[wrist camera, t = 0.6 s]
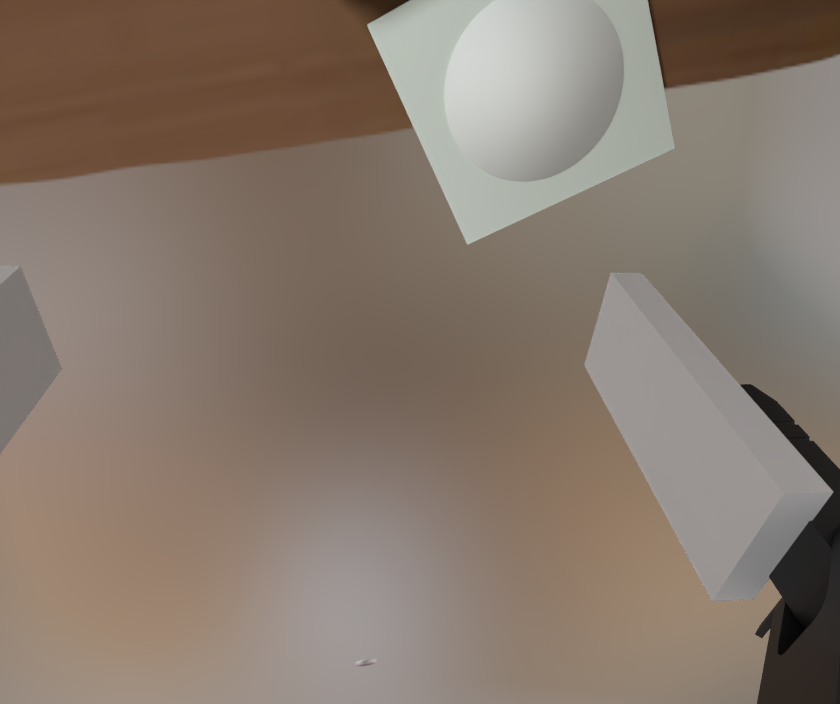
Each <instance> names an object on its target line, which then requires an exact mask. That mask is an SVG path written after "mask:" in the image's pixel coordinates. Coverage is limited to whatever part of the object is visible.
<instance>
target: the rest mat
mask: <svg viewBox="0 0 840 704" xmlns="http://www.w3.org/2000/svg"><path fill="white" fill-rule="evenodd" d="M367 26H368V29H369V31H370V33H371V35H372V37H373V40H374V42H375V44H376V46H377V48H378V50H379V53H380V55H381V57H382V59H383V61H384V64H385V66H386V68H387V70H388V72H389V75H390V77H391V79H392V81H393V83H394V85H395V88H396V90H397V92H398V94H399V96H400V99H401V101H402V103H403V105H404V107H405V110H406V112H407V114H408V116H409V118H410V120H411V123H412V125H413V127H414V129H415V131H416V134H417V136H418V138H419V140H420V142H421V144H422V147H423V149H424V151H425V153H426V155H427V158H428V160H429V162H430V164H431V166H432V168H433V171H434V173H435V175H436V177H437V180H438V182H439V184H440V186H441V188H442V190H443V193H444V194H445V197H446V199H447V201H448V203H449V206H450V208H451V210H452V212H453V215H454V217H455V219H456V221H457V223H458V225H459V228H460V230H461V232H462V234H463V236H464V239H465V241H466V243H467V244H470V243H472V242H475V241H477V240H479V239H481V238H483V237H485V236H487V235H490V234H492V233H494V232H496V231H498V230H500V229H503V228H505V227H507V226H509V225H511V224H513V223H516V222H517V221H520V220H522V219H524V218H526V217H528V216H531V215H533V214H535V213H537V212H539V211H541V210H544V209H546V208H548V207H550V206H552V205H554V204H557V203H559V202H561V201H563V200H565V199H567V198H569V197H572V196H574V195H576V194H578V193H580V192H582V191H584V190H587V189H589V188H591V187H593V186H595V185H597V184H600V183H602V182H604V181H606V180H608V179H610V178H613V177H615V176H617V175H619V174H621V173H623V172H625V171H628V170H630V169H632V168H634V167H636V166H638V165H641V164H642V163H645V162H647V161H649V160H651V159H653V158H656V157H658V156H660V155H662V154H664V153H666V152H668V151H671V150H673V149H675V145H674V139H673V134H672V129H671V123H670V118H669V112H668V107H667V102H666V97H665V91H664V85H663V80H662V75H661V69H660V64H659V58H658V53H657V48H656V42H655V37H654V31H653V26H652V21H651V15H650V10H649V5H648V0H409V1H408V2H406V3H404V4H402V5H400V6H399V7H397V8H395V9H393V10H392V11H390V12H388V13H386V14H385V15H383V16H381V17H379V18H378V19H376V20H374V21H372V22H370V23H369V24H367Z"/></svg>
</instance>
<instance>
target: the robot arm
mask: <svg viewBox="0 0 840 704" xmlns="http://www.w3.org/2000/svg"><path fill="white" fill-rule="evenodd" d="M584 366H585V367H586V369H587V371H588V373H589V375H590V376H591V378H592V380H593V382H594V384H595V386H596V387H597V390H598V391H599V393H600V395H601V397H602V399H603V401H604V403H605V404H606V406H607V408H608V410H609V412H610V414H611V416H612V417H613V419H614V421H615V423H616V425H617V427H618V428H619V430H620V432H621V434H622V436H623V438H624V440H625V441H626V443H627V445H628V447H629V449H630V451H631V453H632V454H633V456H634V458H635V460H636V461H637V464H638V465H639V467H640V469H641V471H642V473H643V475H644V477H645V478H646V480H647V482H648V484H649V486H650V488H651V489H652V491H653V493H654V495H655V497H656V499H657V501H658V502H659V504H660V506H661V508H662V510H663V512H664V514H665V515H666V517H667V519H668V521H669V523H670V525H671V526H672V528H673V530H674V532H675V534H676V536H677V537H678V539H679V541H680V543H681V545H682V547H683V549H684V551H685V552H686V554H687V556H688V558H689V560H690V562H691V564H692V565H693V567H694V569H695V571H696V573H697V575H698V576H699V578H700V580H701V582H702V584H703V586H704V587H705V589H706V591H707V593H708V595H709V597H710V599H711V601H730V600H748V599H755V597H756V596H757V595H758V593H759V592H760V591H761V589H762V588H763V587H764V585H765V584H766V582H767V581H768V580H769V578H770V579H771V580H772V582H773V583H774V585H775V587H776V588H777V590H778V591H779V593H780V594H781V596H782V598H781V599H780V601H779V602H778V603H777V604H776V606H775V607H774V608H773V610H772V611H771V612H770V613H769V615H768V616H767V617H766V618H765V620H764V621H763V622H762V623H761V625H760V626H759V628H758V630H757V632H756V633H755V634H756V635H757V636H759V637H761V638H763V636H764V635H765V634H766V632H767V631H768V630H769V629H771V630H770V635H769V641H768V646H767V652H766V657H765V662H764V668H763V673H762V679H761V685H760V691H759V695H758V701H757V704H840V469H839V468H838V467H837V466H836V465H835V464H834V463H833V462H832V461H831V460H830V459H829V458H828V457H827V455H826V454H825V453H824V452H823V451H822V450H821V449H820V448H819V447H818V446H817V444H815V442H814V441H810V440H809V436H808V435H807V434H806V433H805V432H804V431H803V429H802V428H801V427H800V426H799V425H795V424H794V420H793V419H792V418H791V416H790V415H789V414H788V413H787V412H786V411H785V410H784V409H783V408H782V407H781V406H780V405H779V404H778V402H777V401H775V400H774V399H772V398H771V397H769V396H768V395H766V394H765V393H763V392H762V391H760V390H759V389H757V388H756V387H754V386H753V385H751V384H748V385H747V384H745V385H739V383H738V382H737V381H736V380H735V379H734V378H733V377H732V375H731V374H730V373H729V372H728V371H727V370H726V369H725V367H724V366H723V365H722V364H721V363H720V362H719V361H718V360H717V358H716V357H715V356H714V355H713V354H712V353H711V351H710V350H709V349H708V348H707V347H706V346H705V345H704V344H703V342H702V341H701V340H700V339H699V338H698V337H697V336H696V334H695V333H694V332H693V331H692V330H691V329H690V328H689V327H688V325H687V324H686V323H685V322H684V321H683V320H682V318H681V317H680V316H679V315H678V314H677V313H676V312H675V310H674V309H673V308H672V307H671V306H670V305H669V304H668V303H667V301H666V300H665V299H664V298H663V297H662V296H661V294H660V293H659V292H658V291H657V290H656V289H655V288H654V286H652V284H651V283H650V282H649V281H648V280H647V278H646V277H645V276H644V275H643V274H642V273H611V274H610V278H609V281H608V284H607V288H606V291H605V295H604V298H603V302H602V305H601V309H600V313H599V316H598V319H597V323H596V326H595V330H594V333H593V337H592V340H591V344H590V347H589V351H588V354H587V358H586V361H585V364H584ZM61 369H62V368H61V365H60V363H59V360H58V358H57V355H56V353H55V350H54V348H53V345H52V343H51V340H50V338H49V336H48V333H47V330H46V328H45V326H44V323H43V321H42V318H41V316H40V313H39V311H38V308H37V306H36V303H35V301H34V298H33V296H32V293H31V291H30V289H29V286H28V283H27V281H26V278H25V276H24V274H23V271H22V269H21V266H0V454H1V452H2V451H3V449H4V448H5V447H6V446H7V444H8V443H9V441H10V440H11V439H12V437H13V436H14V434H15V433H16V432H17V430H18V429H19V428H20V426H21V425H22V423H23V422H24V421H25V419H26V418H27V416H28V415H29V414H30V412H31V411H32V409H33V408H34V407H35V405H36V404H37V402H38V401H39V400H40V398H41V397H42V396H43V394H44V393H45V391H46V390H47V389H48V387H49V386H50V385H51V383H52V382H53V380H54V379H55V378H56V376H57V375H58V373H59V372H60V371H61Z"/></svg>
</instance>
